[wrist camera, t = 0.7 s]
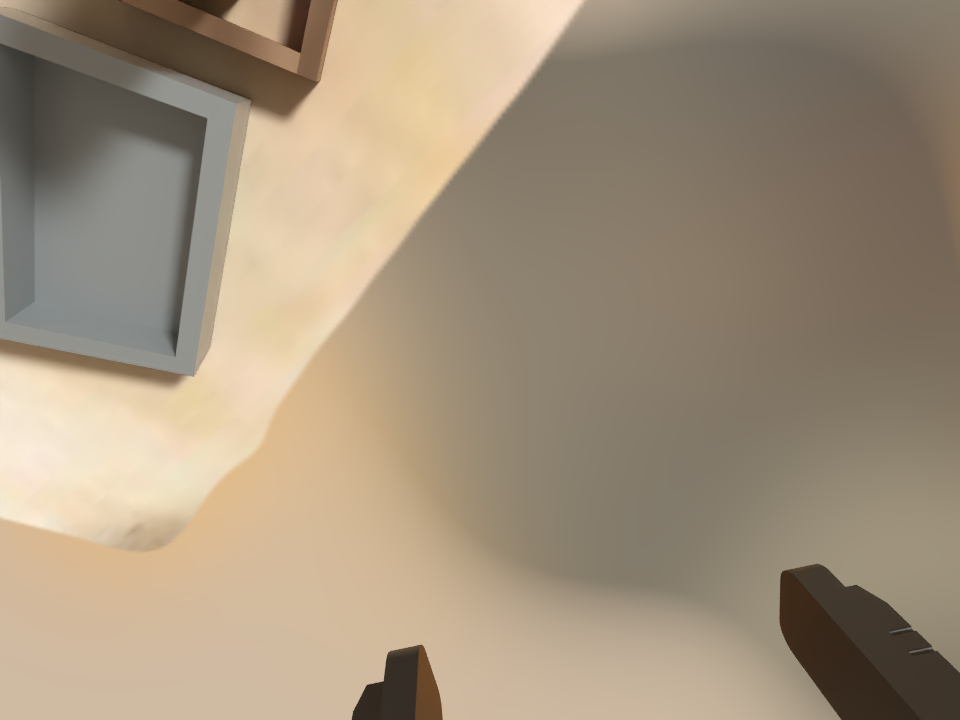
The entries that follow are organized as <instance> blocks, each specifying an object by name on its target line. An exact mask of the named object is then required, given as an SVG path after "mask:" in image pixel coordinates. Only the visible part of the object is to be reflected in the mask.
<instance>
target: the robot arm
mask: <svg viewBox="0 0 960 720" xmlns="http://www.w3.org/2000/svg"><path fill="white" fill-rule="evenodd" d="M780 581H781V582H780V626H781V630H782V633H783V636H784V638H785V640H786V642H787V644H788V646H789V648H790V650H791V651H792V652H793V654H794V655H795V657H796V658H797V660H798V661H799V662H800V664H801V665H802V666H803V668H804V669H805V670H806V672H807V673H808V674H809V676H810V677H811V679H812V680H813V681H814V683H815V684H816V685H817V687H818V688H819V690H820V691H821V692H822V694H823V695H824V696H825V698H826V699H827V700H828V702H829V703H830V704H831V706H832V707H833V709H834V710H835V711H836V713H837V714H838V715H839V717H840V718H841V720H960V673H959V672H958V671H957V670H956V669H955V668H954V667H953V666H952V665H951V664H950V663H949V662H948V661H947V660H946V659H945V658H944V657H943V656H942V655H941V654H939V652H938V651H934V650H933V649H932V646H931V645H930V644H929V643H928V642H927V641H926V640H925V639H924V638H923V637H922V636H921V635H920V634H919V633H918V632H917V631H913V630H912V628H911V626H910V625H909V624H908V623H907V622H906V621H905V620H904V619H903V618H902V617H901V616H900V615H899V614H898V613H897V612H896V611H895V610H894V609H893V608H892V607H891V606H890V605H889V604H888V603H886V602H885V601H883V600H881V599H880V598H878V597H876V596H874V595H873V594H871V593H869V592H868V591H866V590H864V589H863V588H861V587H859V586H858V585H854V586H849V587H845V586H844V585H843V584H842V583H841V582H840V581H839V580H838V579H837V578H836V577H835V576H834V575H833V574H832V573H831V572H830V571H829V570H828V569H827V568H826V567H824V566H822V565H820V564H814V565H809V566H804V567H800V568H795V569H790V570H786V571H783V572H782V573H781V579H780ZM352 720H442V707H441V700H440V694H439V690H438V687H437V684H436V681H435V678H434V675H433V672H432V669H431V666H430V663H429V660H428V657H427V654H426V651H425V648H424V646H423V645H418V646H413V647H408V648H404V649H399V650H394V651H390V652H389V653H388V655H387V659H386V667H385V676H384V681H383V682H379V683H374V684H369V685H367V686H366V688H365V690H364V692H363V694H362V696H361V697H360V700H359V702H358V704H357V705H356V707H355V709H354V711H353V716H352Z"/></svg>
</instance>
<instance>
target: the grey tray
mask: <svg viewBox="0 0 960 720" xmlns="http://www.w3.org/2000/svg"><path fill="white" fill-rule="evenodd" d="M250 106H251V100H250V99H248V98H245V97H242V96H240V95H237V94H235V93H232V92H229V91H227V90H224V89H222V88H219V87H216V86H214V85H211V84H209V83H206V82H203V81H201V80H198V79H196V78H193V77H190V76H188V75H185V74H183V73H180V72H177V71H175V70H172V69H170V68H167V67H164V66H162V65H159V64H157V63H154V62H151V61H149V60H146V59H144V58H141V57H138V56H136V55H133V54H131V53H128V52H125V51H123V50H120V49H118V48H115V47H112V46H110V45H107V44H105V43H102V42H99V41H97V40H94V39H92V38H89V37H86V36H84V35H81V34H79V33H76V32H73V31H71V30H68V29H66V28H63V27H60V26H58V25H55V24H53V23H50V22H47V21H45V20H42V19H40V18H37V17H34V16H32V15H29V14H27V13H24V12H21V11H19V10H16V9H11V8H5V7H0V339H4V340H9V341H14V342H19V343H25V344H30V345H35V346H40V347H45V348H50V349H55V350H60V351H66V352H71V353H76V354H81V355H86V356H91V357H96V358H101V359H106V360H112V361H117V362H122V363H127V364H132V365H137V366H142V367H147V368H152V369H158V370H163V371H168V372H173V373H178V374H183V375H188V376H193V377H194V375H195V374H196V372H197V370H198V368H199V366H200V365H201V363H202V361H203V359H204V358H205V356H206V354H207V352H208V351H209V349H210V345H211V339H212V333H213V327H214V321H215V315H216V309H217V303H218V297H219V291H220V285H221V279H222V273H223V267H224V261H225V255H226V249H227V243H228V237H229V231H230V225H231V219H232V213H233V207H234V202H235V196H236V190H237V184H238V178H239V172H240V166H241V160H242V154H243V148H244V142H245V136H246V130H247V124H248V118H249V112H250Z"/></svg>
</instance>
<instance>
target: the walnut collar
mask: <svg viewBox="0 0 960 720" xmlns="http://www.w3.org/2000/svg"><path fill="white" fill-rule="evenodd" d="M119 1H122V2H124V3H127V4H129V5H131V6H134V7H136V8H139V9H141V10H144V11H146V12H148V13H151V14H153V15H156V16H158V17H160V18H163V19H165V20H168V21H170V22H172V23H175V24H177V25H180V26H182V27H185V28H187V29H189V30H192V31H194V32H197V33H199V34H201V35H204V36H206V37H209V38H211V39H214V40H216V41H218V42H221V43H223V44H226V45H228V46H230V47H233V48H235V49H238V50H240V51H242V52H245V53H247V54H250V55H252V56H255V57H257V58H259V59H262V60H264V61H267V62H269V63H271V64H274V65H276V66H279V67H281V68H284V69H286V70H288V71H291V72H293V73H296V74H298V75H300V76H303V77H305V78H308V79H310V80H312V81H315V82H317V81H320V79H321V74H322V70H323V65H324V61H325V56H326V51H327V47H328V42H329V38H330V33H331V29H332V24H333V19H334V15H335V10H336V6H337V1H338V0H311V3H310V8H309V13H308V18H307V23H306V28H305V33H304V38H303V43H302V49H301V53H300V52H298V51H296V50H293V49H291V48H289V47H286V46H284V45H282V44H279V43H277V42H275V41H272V40H270V39H268V38H265V37H263V36H261V35H258V34H256V33H254V32H251V31H249V30H247V29H244V28H242V27H240V26H237V25H235V24H233V23H230V22H228V21H226V20H223V19H221V18H219V17H217V16H214V15H212V14H210V13H207V12H205V11H203V10H200V9H198V8H196V7H193V6H191V5H189V4H186V3H184V2H182V1H179V0H119Z"/></svg>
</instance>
